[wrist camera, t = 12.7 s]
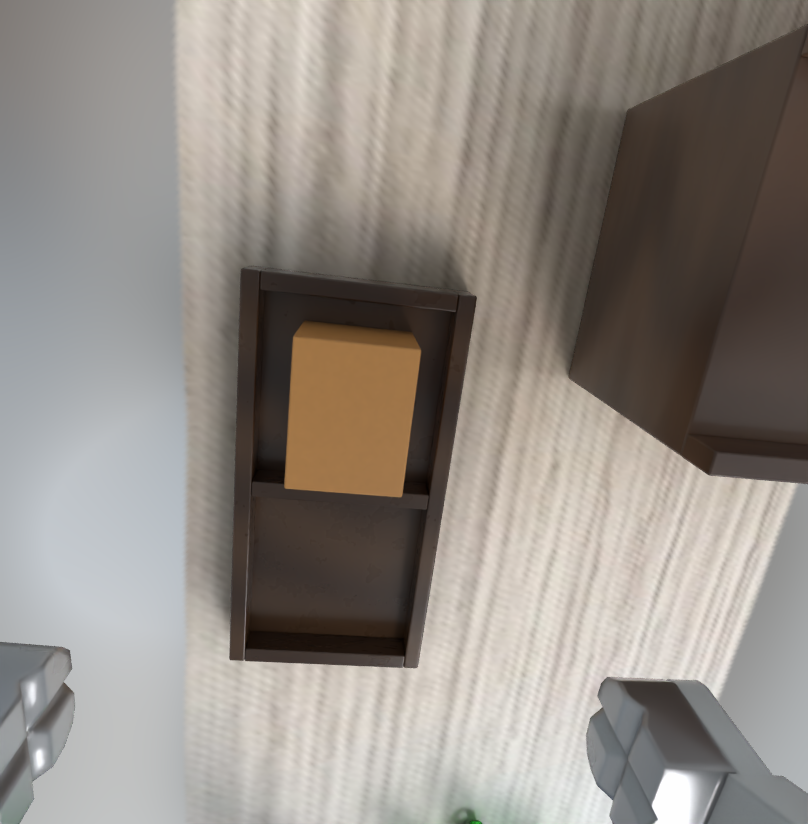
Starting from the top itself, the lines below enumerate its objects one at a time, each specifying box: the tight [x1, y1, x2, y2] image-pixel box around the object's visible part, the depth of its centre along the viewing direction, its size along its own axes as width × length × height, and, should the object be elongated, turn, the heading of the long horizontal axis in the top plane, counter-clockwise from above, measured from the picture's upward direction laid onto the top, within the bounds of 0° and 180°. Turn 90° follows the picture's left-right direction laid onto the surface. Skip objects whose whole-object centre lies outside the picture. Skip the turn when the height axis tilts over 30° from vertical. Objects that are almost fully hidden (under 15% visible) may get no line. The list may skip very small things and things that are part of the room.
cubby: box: [569, 24, 808, 484], centre depth 20 cm, size 12×10×12 cm
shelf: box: [229, 266, 477, 668], centre depth 27 cm, size 20×10×2 cm, turn 173°
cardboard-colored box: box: [284, 321, 421, 497], centre depth 24 cm, size 7×5×4 cm
